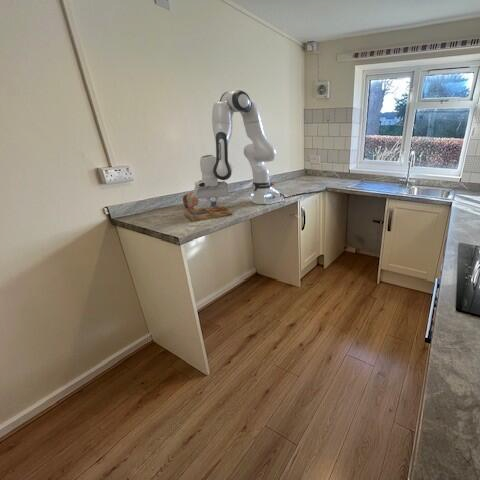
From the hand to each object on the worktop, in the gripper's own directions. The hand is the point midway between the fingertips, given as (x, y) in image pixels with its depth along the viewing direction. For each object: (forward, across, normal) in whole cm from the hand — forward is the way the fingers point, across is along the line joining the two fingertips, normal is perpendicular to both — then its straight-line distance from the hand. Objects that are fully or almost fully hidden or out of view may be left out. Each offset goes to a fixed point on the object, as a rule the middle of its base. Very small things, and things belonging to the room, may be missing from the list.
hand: (213, 204), depth 165 cm
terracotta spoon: (+2, +13, +1) cm, 14 cm away
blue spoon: (+2, 0, 0) cm, 2 cm away
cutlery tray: (+2, +7, +15) cm, 17 cm away
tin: (+3, +11, -12) cm, 16 cm away
